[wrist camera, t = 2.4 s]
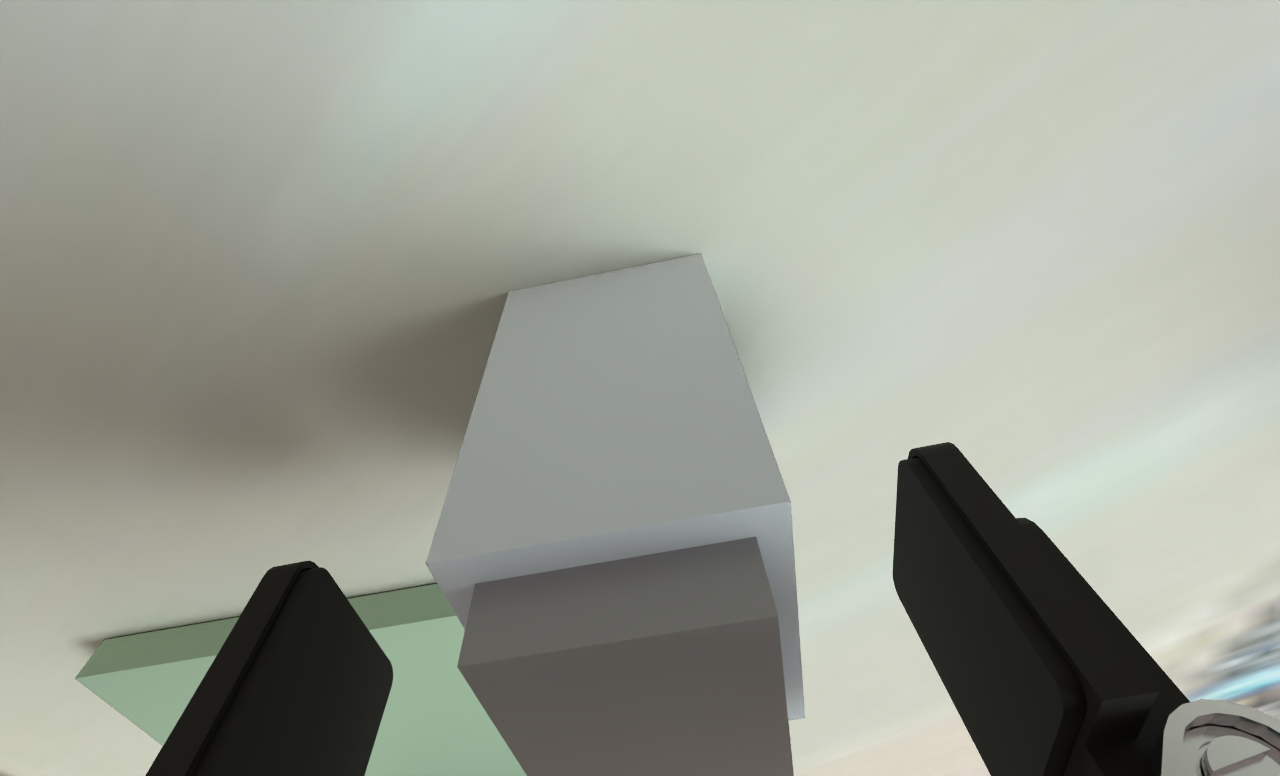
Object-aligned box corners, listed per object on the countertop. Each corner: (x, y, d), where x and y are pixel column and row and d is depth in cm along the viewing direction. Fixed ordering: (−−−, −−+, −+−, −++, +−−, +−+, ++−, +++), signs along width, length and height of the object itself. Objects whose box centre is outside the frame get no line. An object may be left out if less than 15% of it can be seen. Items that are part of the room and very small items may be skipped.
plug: (508, 291, 12) (400, 646, 6) (701, 253, 12) (818, 578, 6) (569, 470, 15) (543, 848, 9) (727, 442, 15) (826, 810, 8)
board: (104, 639, 18) (74, 678, 17) (633, 550, 17) (635, 585, 16) (387, 879, 29) (379, 911, 28) (715, 834, 28) (720, 866, 27)
